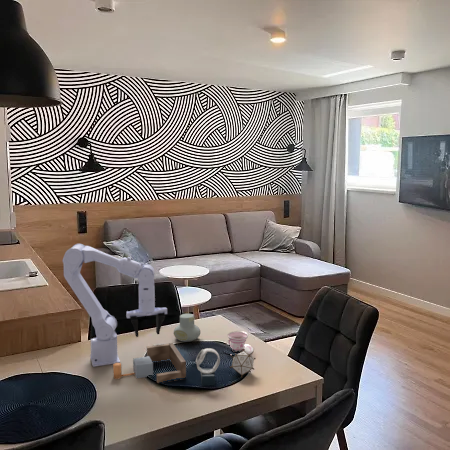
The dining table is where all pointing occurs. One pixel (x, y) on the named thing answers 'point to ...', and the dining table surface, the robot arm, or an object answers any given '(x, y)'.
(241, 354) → the game die
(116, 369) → the pull block
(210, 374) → the watch
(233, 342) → the teacup
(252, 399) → the dining table surface
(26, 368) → the dining table surface
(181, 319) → the air freshener
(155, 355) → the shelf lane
